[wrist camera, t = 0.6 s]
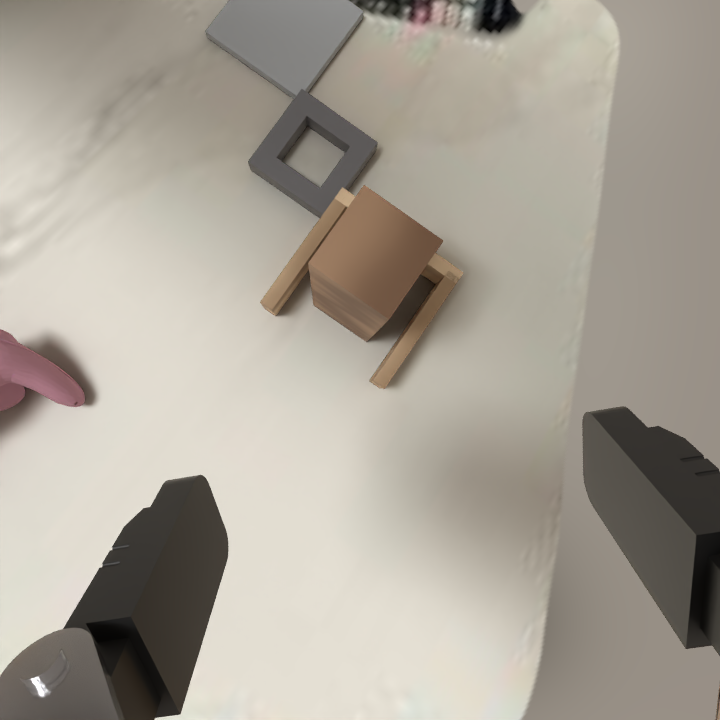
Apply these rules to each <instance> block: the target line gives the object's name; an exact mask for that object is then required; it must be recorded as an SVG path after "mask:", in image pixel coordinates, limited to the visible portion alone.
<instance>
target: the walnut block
mask: <svg viewBox="0 0 720 720" xmlns="http://www.w3.org/2000/svg"><path fill="white" fill-rule="evenodd" d="M442 242H443V240H442V239H440V238H439V237H437V236H436V235H434V234H433V233H432V232H430V231H429V230H427V229H426V228H425V227H423V226H422V225H420V224H419V223H417V222H416V221H415V220H413V219H412V218H410V217H409V216H408V215H406V214H405V213H403V212H402V211H400V210H399V209H398V208H396V207H395V206H393V205H392V204H391V203H389V202H388V201H386V200H385V199H383V198H382V197H381V196H379V195H378V194H376V193H375V192H374V191H372V190H371V189H369V188H368V187H366V186H365V185H364V186H363V187H362V188H361V190H360V191H359V193H358V194H357V195H356V197H355V198H354V200H353V201H352V202H351V204H350V205H349V207H348V208H347V209H346V211H345V212H344V214H343V215H342V216H341V218H340V219H339V221H338V222H337V223H336V225H335V226H334V228H333V229H332V230H331V232H330V233H329V235H328V236H327V237H326V239H325V240H324V242H323V243H322V244H321V246H320V247H319V249H318V250H317V251H316V253H315V254H314V256H313V257H312V259H311V260H310V261H309V263H308V265H309V273H310V281H311V289H312V296H313V304H314V306H315V307H317V308H318V309H320V310H321V311H323V312H324V313H326V314H327V315H328V316H330V317H331V318H333V319H334V320H336V321H337V322H338V323H340V324H341V325H343V326H344V327H346V328H347V329H349V330H350V331H351V332H353V333H354V334H356V335H357V336H359V337H360V338H361V339H363V340H364V341H366V342H367V341H368V340H369V339H370V338H371V337H372V336H373V335H374V334H375V333H376V332H377V331H378V330H379V329H380V328H381V327H382V326H383V325H384V324H385V323H386V322H387V321H388V320H389V319H390V318H391V316H392V315H393V313H394V312H395V310H396V309H397V308H398V306H399V305H400V303H401V302H402V300H403V299H404V297H405V296H406V294H407V293H408V292H409V290H410V289H411V287H412V286H413V284H414V283H415V281H416V280H417V279H418V277H419V276H420V274H421V273H422V271H423V270H424V268H425V267H426V265H427V264H428V263H429V261H430V260H431V258H432V257H433V255H434V254H435V252H436V251H437V249H438V248H439V247H440V245H441V244H442Z"/></svg>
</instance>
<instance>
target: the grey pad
mask: <svg viewBox="0 0 720 720" xmlns="http://www.w3.org/2000/svg"><path fill="white" fill-rule="evenodd" d="M363 12H364V11H363V10H361V9H360V8H358V7H357V6H356V5H354V4H353V3H351V2H350V1H349V0H229V1H228V2H227V4H226V5H225V6H224V8H223V9H222V10H221V11H220V13H219V14H218V15H217V17H216V18H215V19H214V21H213V22H212V23H211V24H210V26H209V27H208V28H207V30H206V31H205V32H206V35H207V38H208V39H210V40H211V41H213V42H214V43H216V44H217V45H218V46H220V47H221V48H223V49H224V50H225V51H227V52H228V53H230V54H231V55H232V56H234V57H235V58H237V59H238V60H240V61H241V62H242V63H244V64H245V65H247V66H248V67H249V68H251V69H252V70H254V71H255V72H256V73H258V74H259V75H261V76H262V77H264V78H265V79H266V80H268V81H269V82H271V83H272V84H273V85H275V86H276V87H278V88H279V89H280V90H282V91H283V92H285V93H286V94H287V95H289V96H290V97H292V98H293V99H295V97H296V96H297V95H298V93H299V92H300V90H301V89H303V90H305V91H306V92H307V93H308V92H309V90H310V89H311V88H312V86H313V85H314V84H315V82H316V81H317V79H318V78H319V77H320V75H321V74H322V73H323V71H324V70H325V69H326V67H327V66H328V65H329V63H330V62H331V60H332V59H333V58H334V56H335V55H336V54H337V52H338V51H339V50H340V48H341V47H342V46H343V44H344V43H345V41H346V40H347V39H348V37H349V36H350V35H351V33H352V32H353V31H354V29H355V28H356V27H357V25H358V24H359V23H360V21H361V20H362V18H363Z"/></svg>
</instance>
